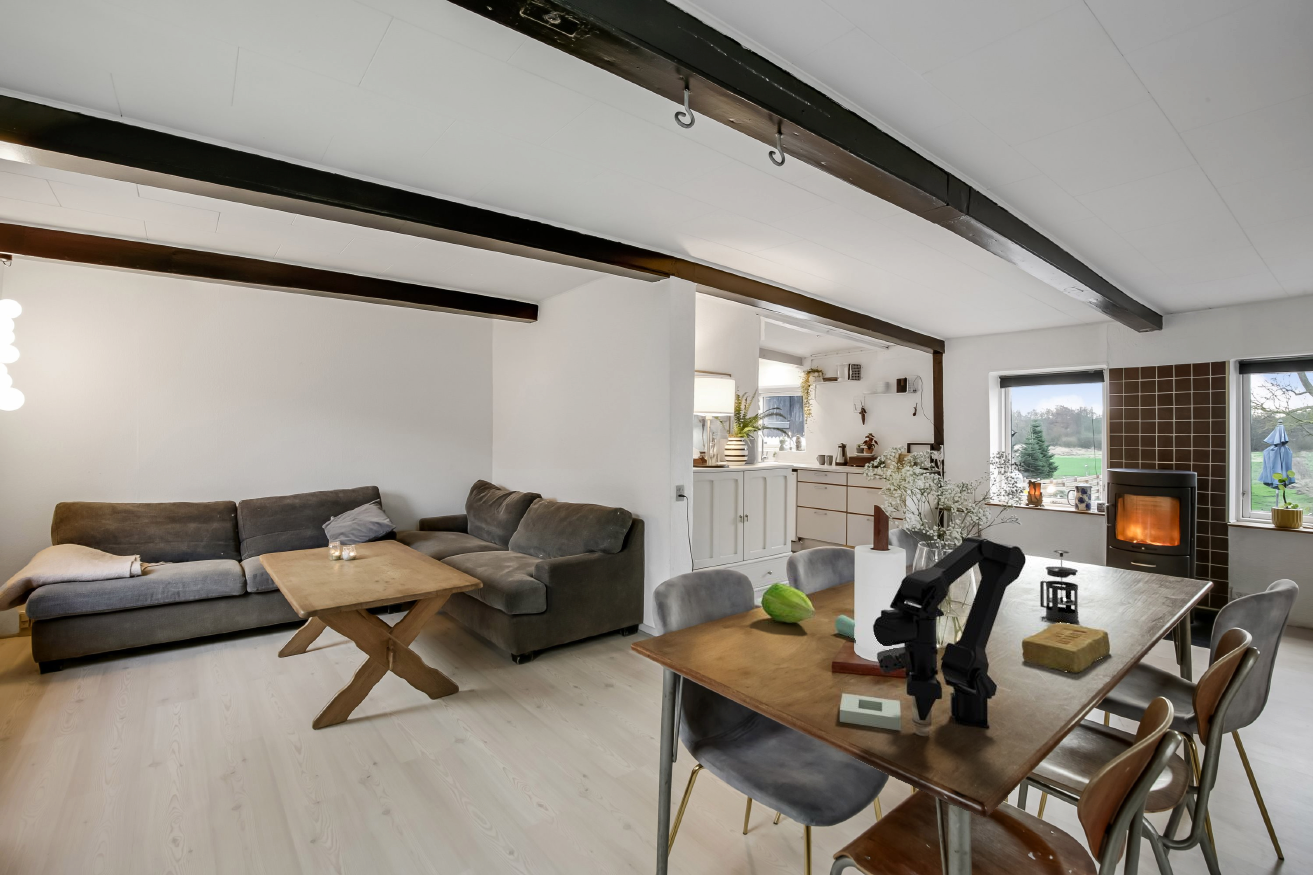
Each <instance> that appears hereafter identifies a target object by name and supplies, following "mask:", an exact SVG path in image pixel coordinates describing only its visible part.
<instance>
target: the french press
mask: <svg viewBox="0 0 1313 875" xmlns="http://www.w3.org/2000/svg"><path fill="white" fill-rule="evenodd" d="M1053 552H1054V553H1057V554H1059V557H1060V566H1047V567H1045V570H1046V572H1047V573H1046V574H1047V576H1051V577H1054V578H1060V580H1048V581H1047V580H1040V582H1039V584H1040V586H1039V587H1040V590H1039V593H1040V594H1039V595H1040V596H1039V598H1040V599H1039V600H1040V601H1039V602H1040V603H1039V604H1040V605H1039V606H1040V607H1041V608H1044V609H1045V616H1044V617H1045V619H1046V620H1048V621H1050V622H1054V623H1058V622H1059V623H1060V622H1061V623H1076V624H1078V623H1077V622H1079V623H1080V620H1079V608H1078V607H1079V606H1078V605H1079V602H1078V600H1079V599H1078V598H1079V597H1078V596H1079V595H1078V593H1079V592H1078V591H1079V585H1078V584H1076V583H1073V582H1068V581H1063V579H1066V578H1068V577H1070V576H1074V577H1075V576H1076V575H1077V573H1078V571H1079V570H1077V569H1076V568H1072V567H1066V566H1063V558H1064V554H1069V553H1070V552H1069V551H1067V550H1063V549H1061V550H1060V549H1059V550H1058V549H1057V550H1054V551H1053ZM1044 587H1046V588H1044ZM1050 589H1051V590H1050ZM1045 590H1046V591H1045ZM1050 591H1051V592H1050ZM1059 591H1060V597H1059ZM1064 591H1065V597H1063V592H1064ZM1045 592H1046V595H1045ZM1072 592H1073V594H1074V595H1073V596H1074V600H1073V599H1072ZM1050 594H1051V596H1050ZM1045 596H1046V597H1045ZM1045 598H1046V599H1045ZM1045 600H1046V603H1045ZM1045 604H1046V605H1045ZM1059 605H1060V606H1059ZM1072 606H1073V607H1074V608H1072Z"/></svg>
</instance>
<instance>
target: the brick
mask: <svg viewBox="0 0 1313 875" xmlns="http://www.w3.org/2000/svg"><path fill="white" fill-rule="evenodd" d="M1021 648H1022V653H1021V654H1022V659H1023V661H1025V662H1027V663H1029V664H1033V665H1036V664H1037V665H1036V666H1040V665H1041V666H1040V667H1044V666H1045V667H1044V668H1047V667H1048V668H1047V669H1051V668H1054V669H1053V670H1058V669H1059V670H1058V671H1061V672H1064V671H1067V672H1066V673H1069V672H1071V673H1070V674H1073V673H1075V674H1077V673H1078V672H1079V673H1081V672H1082V671H1084V670H1086V669H1087V668H1089V667H1090V666H1091V665H1092V664H1093V663H1094V661H1095V660H1097V659H1099V658H1101V657H1104V656H1105V657H1107V656H1108V655H1110V651H1111V644H1110V638H1109V633H1108V631H1107V630H1103V629H1097V628H1091V627H1088V626H1082V625H1079V624H1067V623H1058V622H1054V623H1053V624H1051V625H1049V626H1047V627H1046V628H1044V629H1042V630H1040V631H1039V632H1037V633H1036V634H1033V635H1030V636H1027V637H1025V638H1023V639H1022V641H1021ZM1107 654H1108V655H1107ZM1106 655H1107V656H1106ZM1105 657H1104V658H1105ZM1099 660H1100V659H1099ZM1097 661H1098V660H1097ZM1092 662H1093V663H1092ZM1095 662H1096V661H1095ZM1090 664H1091V665H1090ZM1089 665H1090V666H1089ZM1088 666H1089V667H1088ZM1086 667H1087V668H1086ZM1085 668H1086V669H1085ZM1083 669H1084V670H1083ZM1080 671H1081V672H1080ZM1079 673H1078V674H1079Z"/></svg>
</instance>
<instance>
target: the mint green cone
mask: <svg viewBox="0 0 1313 875" xmlns="http://www.w3.org/2000/svg"><path fill="white" fill-rule="evenodd" d="M855 621H856V620H854V619H852V618H851V617H848V616H846V615H844V614H841V615H839V616H838V617H837V618H836V619H835V623H834V627H835V630H836V632H837V634H841V636H842V635H843V636H846V637H848V636H849V637H848V638H850V639H854V627H855ZM854 640H855V639H854Z"/></svg>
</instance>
